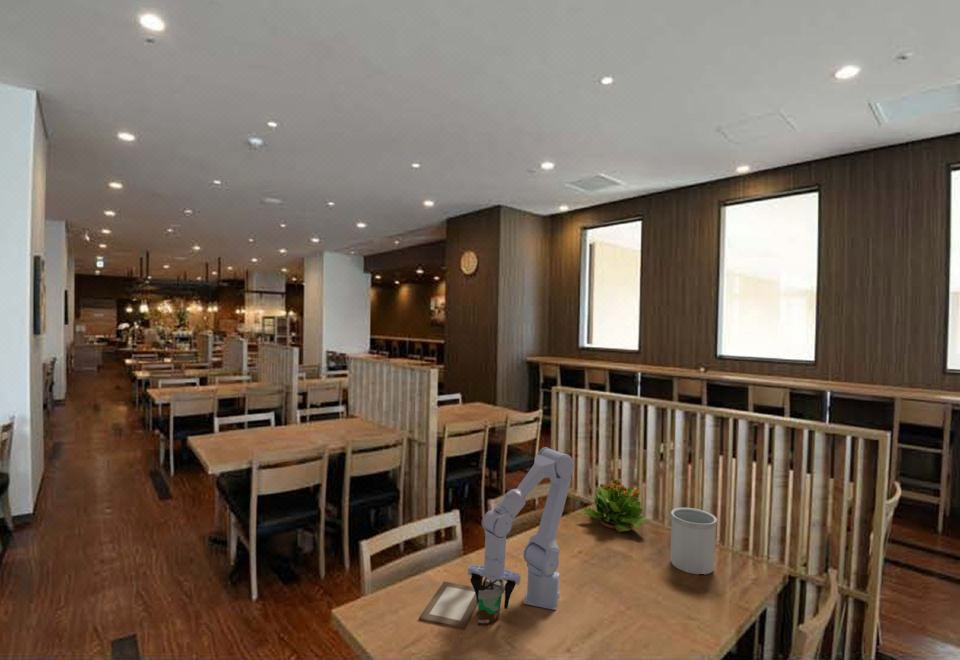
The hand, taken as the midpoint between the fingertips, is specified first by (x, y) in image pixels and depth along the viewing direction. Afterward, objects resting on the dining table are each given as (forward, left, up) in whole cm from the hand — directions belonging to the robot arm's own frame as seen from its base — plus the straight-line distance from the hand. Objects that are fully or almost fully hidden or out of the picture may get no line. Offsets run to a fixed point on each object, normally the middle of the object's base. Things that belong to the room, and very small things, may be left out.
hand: (492, 604), depth 138 cm
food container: (0, 0, -4) cm, 4 cm away
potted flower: (-31, -80, -4) cm, 86 cm away
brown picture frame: (+12, -2, -4) cm, 13 cm away
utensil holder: (-58, -53, -4) cm, 79 cm away
